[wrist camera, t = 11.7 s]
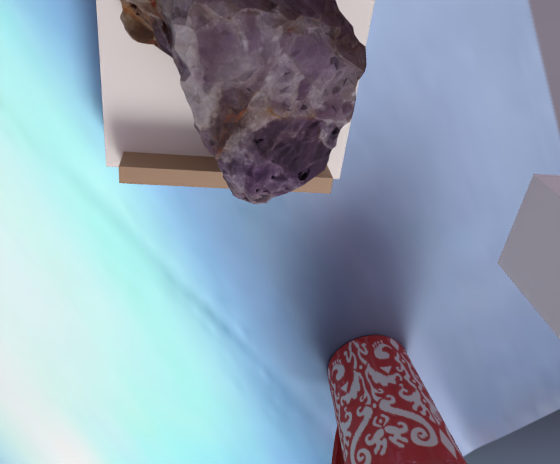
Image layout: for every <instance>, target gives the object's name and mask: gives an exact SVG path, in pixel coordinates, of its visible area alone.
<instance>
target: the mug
mask: <svg viewBox="0 0 560 464" xmlns="http://www.w3.org/2000/svg"><path fill="white" fill-rule="evenodd" d="M328 380H329V385H330V391H331V395H332V400H333V405H334V410H335V416H336V421H337V430H336V435H335V441H334V448H333V456H332V464H467V463H466V461H465V460H464V458H463V456H462V454H461V452H460V450H459V448H458V446H457V445H456V443H455V441H454V439H453V437H452V435H451V434H450V432H449V430H448V428H447V427H446V425H445V423H444V421H443V419H442V417H441V415H440V414H439V412H438V410H437V408H436V406H435V404H434V402H433V400H432V399H431V397H430V395H429V393H428V392H427V390H426V388H425V386H424V384H423V382H422V381H421V379H420V377H419V375H418V373H417V372H416V370H415V368H414V366H413V364H412V362H411V360H410V358H409V356H408V355H407V353H406V351H405V350H404V348H403V347H402V345H401V344H400V343H398V342H397V341H396V340H394V339H392V338H390V337H386V336H381V335H370V336H363V337H359V338H357V339H354V340H352V341H350V342H348V343H346V344H345V345H343V346H342V347H341V348H339V349H338V350H337V351H336V352H335V354H334V355H333V356H332V358H331V360H330V362H329V365H328Z"/></svg>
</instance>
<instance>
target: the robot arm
mask: <svg viewBox="0 0 560 464" xmlns="http://www.w3.org/2000/svg"><path fill="white" fill-rule="evenodd" d="M498 264H499V266H500V267H501V268H502V269H503V271H504V272H505V273H506V274H507V275H508V277H509V278H510V279H511V280H512V282H513V283H514V284H515V285H516V286H517V288H518V289H519V290H520V291H521V293H522V294H523V295H524V296H525V297H526V299H527V300H528V301H529V302H530V303H531V305H532V306H533V307H534V308H535V310H536V311H537V312H538V313H539V314H540V316H541V317H542V318H543V319H544V321H545V322H546V323H547V324H548V325H549V327H550V328H551V329H552V330H553V332H554V333H555V334H556V335H557V336H558V338H559V339H560V176H558V175H539V174H534V175H533V177H532V180H531V182H530V184H529V187H528V189H527V192H526V194H525V197H524V199H523V202H522V204H521V207H520V209H519V211H518V214H517V216H516V219H515V221H514V224H513V226H512V229H511V231H510V234H509V236H508V238H507V241H506V243H505V246H504V248H503V251H502V253H501V256H500V258H499V260H498Z"/></svg>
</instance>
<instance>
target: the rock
mask: <svg viewBox="0 0 560 464" xmlns="http://www.w3.org/2000/svg"><path fill="white" fill-rule="evenodd" d="M120 1H121V4H122V9H123V11H122V13H121V15H120V19H121V21H122V23H123V25H124V28H125V30H126V32H127V33H128V34H129V36H130V37H131V38H132V39H133V40H135V41H137V42H138V43H143V44H151V45H155V46H156V47H157V48H159V49H160V50H162V51H163V52H164V53H166V54H167V55H169V56H170V57H172V58H173V60H174V63H175V65H176V67H177V69H178V71H179V74H180V75H181V76H180V84H181V88H182V90H183V91H184V94H185V97H186V100H187V102H188V104H189V106H190V108H191V110H192V114H193V117H194V127H195V129H196V130H197V132H198V133H199V135H200V137H201V139H202V142H203V144H204V146H205V147H206V149H207V150H208V151H209V152H210V153H211V154H212V155H213V156H214V158H215V159H216V161H217V162H218V167H219V169H220V170H221V172H222V173H223V178H224V180H225V181H226V183H227V185H228V187H229V189H230V190H231V192H232V194H233V195H234V196H235V197H237V198H239V199H242V200H245V201H248V202H250V203H253V204H257V203H267V202H268V201H269V200H270V199H271V198H273V197H276V196H279V195H282V194H285V193H288V192H291V191H293V190H295V189H297V188H299V187H301V186H303V185H305V184H306V183H307V182H309V181H310V180H311V179H313V178H314V177H315V176H317V175H318V174H320V173H321V172H323V171H324V170H325V168H326V166H327V163H328V161H329V156H330V153H331V151H332V149H333V148H334V147H335V146H336V145H337V139H338V136H339V133H340V130H341V129H342V127H343V126H344V125H346V124H347V123H349V122H350V121H351V119H352V115H353V111H354V106H355V101H356V86H357V83H358V80H359V79H360V78H361V76H362V75H363V73H364V72H365V68H366V49H365V46H364V45H363V44H362V43H361V42H359V40H358V39H357V37H356V36H355V34H354V29H353V26H352V25H351V24H350V22H349V21H348V20H347V19H346V18H345V16H344V15H343V14H342V13H341V12H340V10H339V8H338V5H337V3H336V0H120Z"/></svg>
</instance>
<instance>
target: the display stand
mask: <svg viewBox="0 0 560 464" xmlns="http://www.w3.org/2000/svg"><path fill="white" fill-rule="evenodd" d="M374 2H375V0H336V3H337V5H338V8H339V10H340V12H341V13H342V14H343V15H344V16H345V18H346V19H347V20H348V21H349V22H350V24H351V25H352V26H353V29H354V34H355V36H356V37H357V39H358V40H359V42H361V43H362V44H363V45H364V46H365V48H366V43H367V38H368V33H369V28H370V23H371V17H372V12H373V7H374ZM96 7H97V23H98V39H99V55H100V71H101V87H102V103H103V120H104V136H105V152H106V166H107V167H119V183H129V184H150V185H170V186H190V187H210V188H229V187H228V185H227V183H226V181H225V180H224V178H223V173H222V172H221V170H220V169H219V167H218V162H217V161H216V159H215V158H214V156H213V155H212V154H211V153H210V152H209V151H208V150H207V149H206V147H205V146H204V144H203V142H202V139H201V137H200V135H199V133H198V132H197V130H196V129H195V127H194V117H193V114H192V110H191V108H190V106H189V104H188V102H187V100H186V97H185V94H184V91H183V90H182V88H181V84H180V76H181V75H180V74H179V71H178V69H177V67H176V65H175V63H174V60H173V58H172V57H170V56H169V55H167V54H166V53H164V52H163V51H162V50H160V49H159V48H157V47H156V46H155V45H151V44H143V43H138V42H137V41H135V40H133V39H132V38H131V37H130V36H129V34H128V33H127V32H126V30H125V28H124V25H123V23H122V21H121V19H120V15H121V13H122V11H123V9H122V4H121V1H120V0H96ZM358 83H359V80H358ZM358 83H357V86H356V93H357V88H358ZM350 123H351V121H350V122H349V123H347V124H346V125H344V126H343V127H342V129H341V130H340V133H339V136H338V139H337V145H336V146H335V147H334V148H333V149H332V151H331V153H330V156H329V161H328V163H327V166H326V168H325V170H324V171H323V172H321V173H320V174H318V175H317V176H315V177H314V178H313V179H311V180H310V181H309V182H307V183H306V184H305V185H303V186H301V187H299V188H297V189H295V190H293V191H291V192H311V193H331V187H332V182H333V179H339V178H340V173H341V168H342V163H343V158H344V153H345V148H346V143H347V138H348V133H349V128H350Z"/></svg>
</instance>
